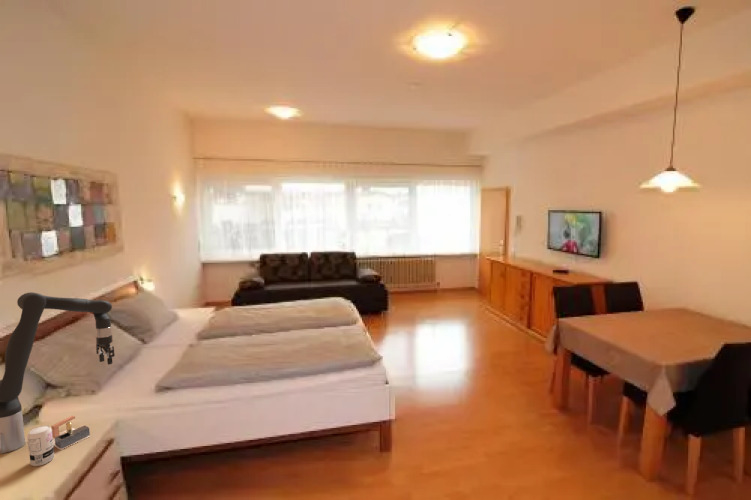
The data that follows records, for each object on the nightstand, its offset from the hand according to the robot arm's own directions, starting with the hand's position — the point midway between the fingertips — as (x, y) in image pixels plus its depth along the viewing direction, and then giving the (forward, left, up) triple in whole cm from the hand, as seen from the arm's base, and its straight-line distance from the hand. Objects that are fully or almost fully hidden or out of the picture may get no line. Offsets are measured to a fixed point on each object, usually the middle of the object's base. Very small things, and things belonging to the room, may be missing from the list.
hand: (105, 362), depth 218 cm
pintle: (-25, -14, -27) cm, 40 cm away
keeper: (-25, -7, -27) cm, 37 cm away
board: (-26, -14, -27) cm, 40 cm away
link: (-26, -19, -27) cm, 42 cm away
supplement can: (-40, -25, -28) cm, 55 cm away
